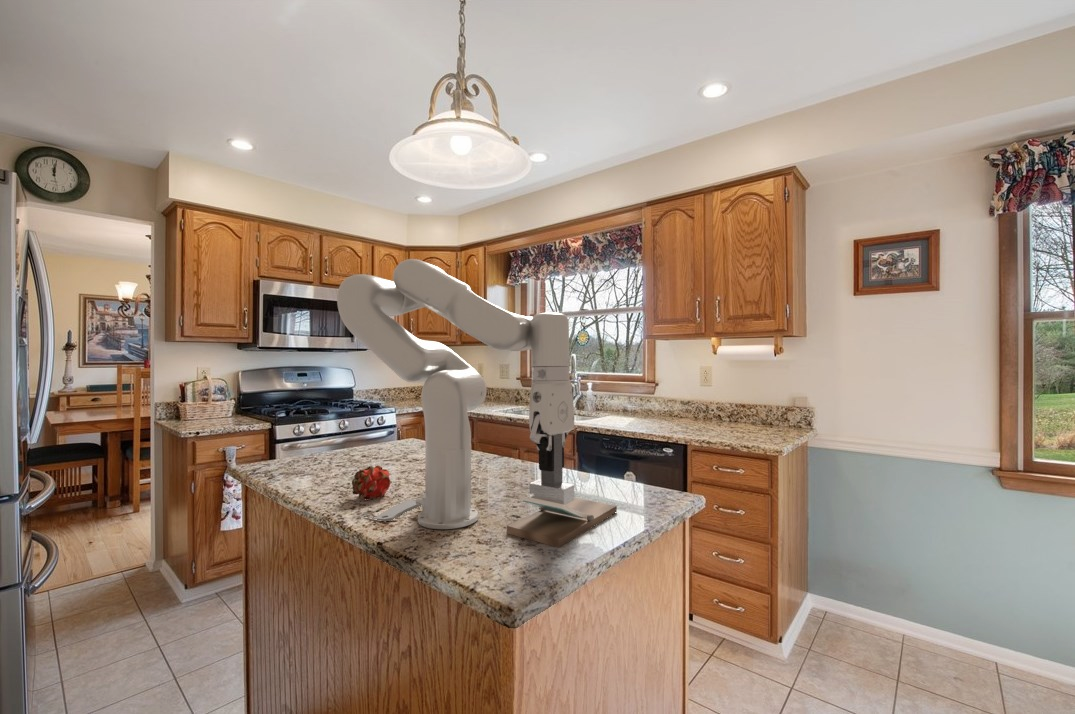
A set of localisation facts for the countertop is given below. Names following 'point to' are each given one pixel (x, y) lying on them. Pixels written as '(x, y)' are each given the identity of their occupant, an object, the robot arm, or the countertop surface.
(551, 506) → the tile
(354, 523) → the countertop surface
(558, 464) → the rubber stamp
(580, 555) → the countertop surface
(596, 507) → the board
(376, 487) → the dragon fruit
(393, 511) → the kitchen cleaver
